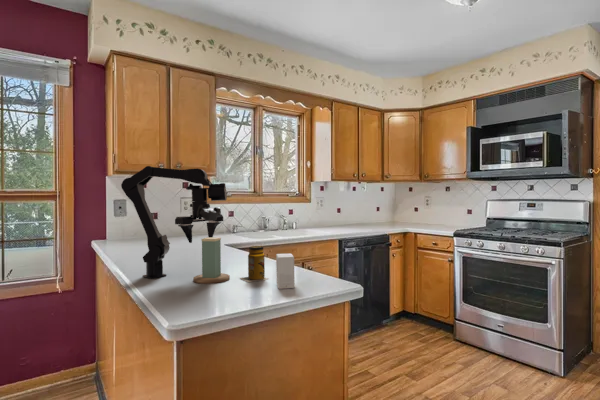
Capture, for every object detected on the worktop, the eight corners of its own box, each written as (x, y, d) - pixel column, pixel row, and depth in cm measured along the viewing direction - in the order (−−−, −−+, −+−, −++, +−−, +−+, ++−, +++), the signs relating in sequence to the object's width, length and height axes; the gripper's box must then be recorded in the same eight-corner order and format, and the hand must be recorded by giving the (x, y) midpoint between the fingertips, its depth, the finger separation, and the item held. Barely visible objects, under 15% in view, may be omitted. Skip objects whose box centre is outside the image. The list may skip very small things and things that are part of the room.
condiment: (269, 279, 132) (268, 246, 132) (248, 282, 128) (247, 248, 128) (259, 275, 138) (259, 244, 138) (239, 278, 134) (239, 246, 134)
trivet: (186, 280, 132) (186, 277, 132) (214, 274, 142) (214, 271, 142) (208, 285, 124) (208, 282, 124) (237, 278, 134) (236, 275, 134)
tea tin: (201, 277, 131) (201, 238, 130) (208, 274, 136) (207, 237, 136) (215, 278, 130) (214, 239, 129) (221, 275, 135) (220, 237, 135)
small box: (294, 288, 119) (294, 256, 119) (277, 289, 118) (277, 257, 118) (292, 282, 127) (292, 253, 127) (276, 283, 126) (276, 253, 126)
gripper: (191, 201, 127) (192, 245, 127) (231, 200, 142) (233, 239, 142) (173, 202, 134) (174, 243, 134) (214, 200, 149) (215, 238, 149)
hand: (200, 241), depth 140 cm, fingers open, 9 cm apart
